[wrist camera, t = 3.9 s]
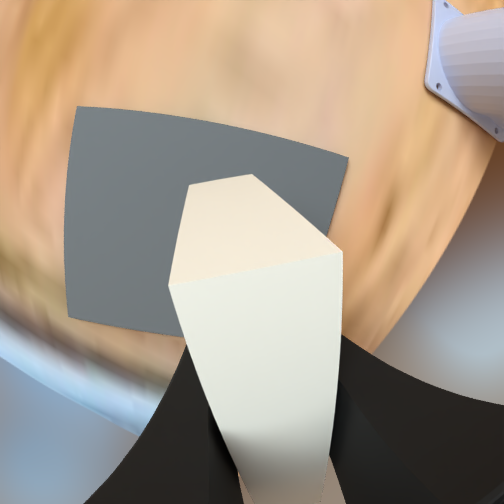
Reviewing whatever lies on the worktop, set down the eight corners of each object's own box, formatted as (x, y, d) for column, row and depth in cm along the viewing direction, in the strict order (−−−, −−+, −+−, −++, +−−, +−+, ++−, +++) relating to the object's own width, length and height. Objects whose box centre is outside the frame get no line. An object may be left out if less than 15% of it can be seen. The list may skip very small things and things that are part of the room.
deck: (254, 173, 9) (347, 250, 3) (279, 376, 13) (322, 501, 7) (189, 185, 9) (168, 285, 3) (235, 386, 13) (260, 515, 7)
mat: (345, 156, 15) (348, 157, 15) (286, 342, 19) (288, 346, 19) (79, 106, 12) (77, 106, 11) (70, 313, 16) (68, 316, 15)
